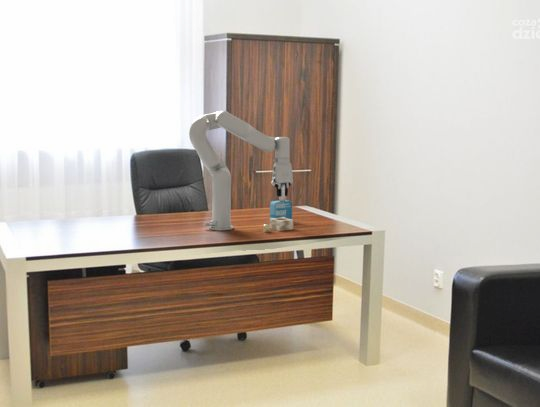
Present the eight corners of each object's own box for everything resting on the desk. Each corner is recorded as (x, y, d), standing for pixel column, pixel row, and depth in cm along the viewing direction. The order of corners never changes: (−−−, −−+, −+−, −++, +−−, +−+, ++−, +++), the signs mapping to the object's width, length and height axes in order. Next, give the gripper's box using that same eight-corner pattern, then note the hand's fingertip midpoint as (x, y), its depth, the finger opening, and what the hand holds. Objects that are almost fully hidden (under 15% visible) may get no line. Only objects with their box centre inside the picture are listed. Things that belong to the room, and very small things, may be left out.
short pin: (265, 232, 367) (265, 225, 366) (262, 231, 370) (262, 224, 369) (270, 232, 369) (270, 224, 368) (267, 231, 371) (267, 223, 371)
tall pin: (281, 202, 374) (281, 183, 373) (277, 201, 377) (278, 182, 375) (286, 201, 376) (286, 182, 374) (283, 201, 378) (283, 182, 377)
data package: (274, 224, 391) (274, 202, 389) (269, 223, 394) (270, 201, 393) (292, 222, 398) (292, 200, 396) (287, 220, 401) (287, 199, 400)
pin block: (278, 230, 372) (278, 221, 372) (269, 228, 380) (269, 218, 379) (293, 229, 377) (293, 219, 376) (283, 226, 385) (283, 217, 384)
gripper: (272, 162, 366) (272, 198, 368) (299, 160, 374) (299, 195, 377) (264, 161, 372) (264, 196, 375) (291, 159, 380) (291, 193, 383)
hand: (282, 195), depth 376 cm, fingers closed on tall pin, 3 cm apart
